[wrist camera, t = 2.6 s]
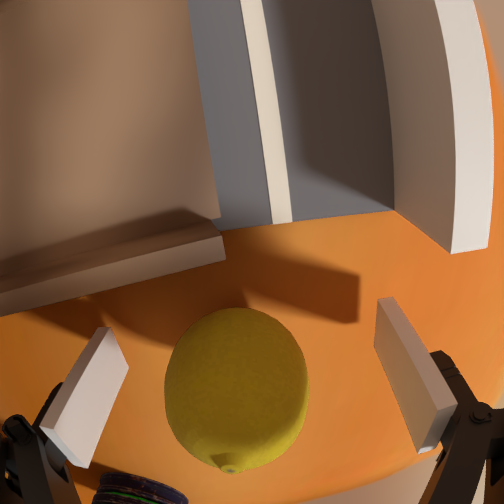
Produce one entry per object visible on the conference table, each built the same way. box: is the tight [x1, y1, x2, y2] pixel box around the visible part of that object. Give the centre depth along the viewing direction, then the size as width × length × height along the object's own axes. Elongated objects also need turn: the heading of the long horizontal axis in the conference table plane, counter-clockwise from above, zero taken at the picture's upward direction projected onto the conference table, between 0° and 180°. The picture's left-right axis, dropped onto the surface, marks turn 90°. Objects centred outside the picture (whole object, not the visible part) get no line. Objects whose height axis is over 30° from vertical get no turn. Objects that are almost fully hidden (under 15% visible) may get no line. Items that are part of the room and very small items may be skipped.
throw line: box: [240, 0, 292, 224], centre depth 11 cm, size 1×12×1 cm, turn 8°
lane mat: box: [187, 0, 394, 231], centre depth 11 cm, size 10×12×1 cm
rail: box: [371, 0, 494, 254], centre depth 8 cm, size 2×12×5 cm, turn 8°
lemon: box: [164, 307, 309, 474], centre depth 12 cm, size 6×6×8 cm
